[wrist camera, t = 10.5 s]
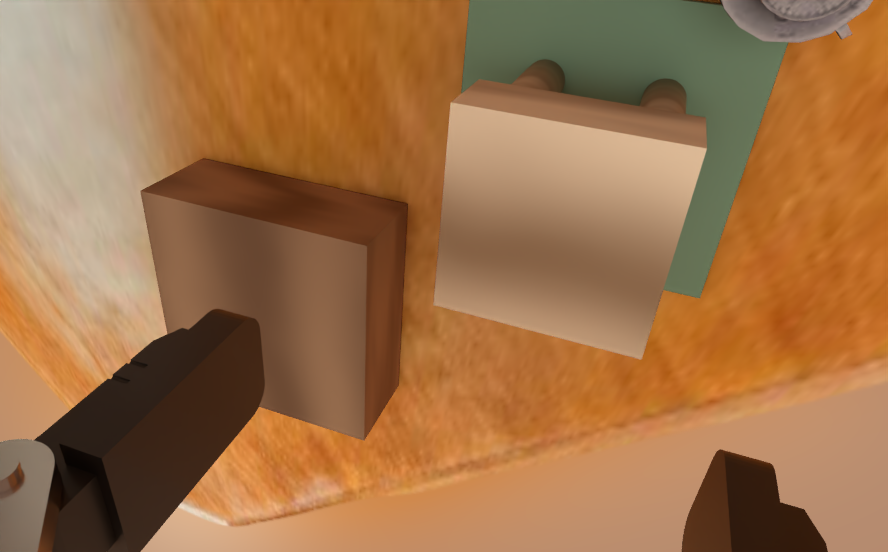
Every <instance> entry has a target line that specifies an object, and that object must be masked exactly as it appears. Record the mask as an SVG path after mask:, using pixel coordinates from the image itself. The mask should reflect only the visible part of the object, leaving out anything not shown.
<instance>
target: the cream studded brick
mask: <svg viewBox="0 0 888 552" xmlns="http://www.w3.org/2000/svg"><path fill="white" fill-rule="evenodd" d="M564 85H565V75H564V72H563V70H562V68H561V67H560V66H559V65H558V64H557V63H556V62H554V61H552V60H548V59H542V60H538V61H536V62H534V63H533V64H532V65H531V66H530V67H529V68H528V69H527V70H525V71H524V72H523V73H522V74H521V75H520V76H519V77H518V78H517V79H516V80H515V81H514V82H513V83H512V84H505V83H499V82H493V81H487V80H481V79H479V80H478V81H477V82H475V83H474V84H473V85H472V86H470V87H469V88H468V89H467V90H465V91H464V92H463V93H462V94H460V95H459V96H458V97H457V98H455V99H454V100H453V101H452V102H451V104H450V116H449V128H448V139H447V151H446V163H445V175H444V187H443V198H442V210H441V222H440V234H439V246H438V257H437V269H436V281H435V293H434V305H435V306H439V307H443V308H447V309H451V310H454V311H458V312H462V313H466V314H470V315H473V316H477V317H481V318H485V319H489V320H492V321H496V322H500V323H504V324H508V325H512V326H515V327H519V328H523V329H527V330H531V331H534V332H538V333H542V334H546V335H550V336H553V337H557V338H561V339H565V340H569V341H572V342H576V343H580V344H584V345H588V346H592V347H595V348H599V349H603V350H607V351H611V352H614V353H618V354H622V355H626V356H630V357H633V358H637V359H641V360H642V356H643V353H644V350H645V347H646V344H647V340H648V337H649V334H650V331H651V327H652V324H653V321H654V318H655V315H656V311H657V308H658V305H659V302H660V298H661V295H662V292H663V289H664V286H665V282H666V279H667V276H668V273H669V269H670V266H671V263H672V260H673V257H674V253H675V250H676V247H677V244H678V240H679V237H680V234H681V231H682V228H683V224H684V221H685V218H686V215H687V211H688V208H689V205H690V202H691V199H692V195H693V192H694V189H695V186H696V182H697V179H698V176H699V173H700V170H701V166H702V163H703V160H704V157H705V153H706V150H707V134H706V117H700V116H694V115H688V114H686V101H687V96H686V92H685V89H684V87H683V86H682V85H681V84H680V83H679V82H677V81H675V80H673V79H668V78H664V79H659V80H656V81H654V82H652V83H651V84H650V85H649V86H648V87H647V88H646V89H645V91H644V93H643V96H642V99H641V103H640V106H635V105H629V104H623V103H617V102H611V101H605V100H599V99H593V98H588V97H582V96H576V95H570V94H564V93H561V92H562V90H563V88H564Z"/></svg>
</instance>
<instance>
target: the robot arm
mask: <svg viewBox="0 0 888 552" xmlns="http://www.w3.org/2000/svg"><path fill="white" fill-rule="evenodd" d="M264 388H265V378H264V366H263V355H262V344H261V332H260V326H259V323H258V321H257V320H256V319H254V318H251V317H247V316H243V315H240V314H236V313H233V312H229V311H225V310H222V309H213V310H211V311H210V312H208V313H207V314H206V315H205V316H204V317H203V318H201V319H200V320H199V321H198V322H197V323H196V324H195V325H193V326H192V327H191V328H190V329H189V330H188V329H185V328H180V329H178V330H176V331H174V332H172V333H169V334H167V335H165V336H163V337H161V338H159V339H156V340H154V341H152V342H151V343H150V344H149V345H148V346H146V347H145V348H144V349H143V350H142V351H141V352H139V353H138V354H137V355H136V356H135V357H133V358H132V359H131V362H130V364H128V363H126V364H125V365H124V366H123V367H121V368H120V369H119V370H118V371H117V372H115V373H114V374H113V377H112V379H107V380H106V381H105V382H103V383H102V384H101V385H100V386H99V387H97V388H96V389H95V390H94V391H93V392H91V393H90V394H89V395H88V396H87V397H86V398H84V399H83V400H82V401H81V402H80V403H78V404H77V405H76V406H75V407H74V408H72V409H71V410H70V411H69V412H68V413H66V414H65V415H64V416H63V417H62V418H60V419H59V420H58V421H57V422H56V423H54V424H53V425H52V426H51V427H50V428H48V429H47V430H46V431H45V432H44V433H43V434H41V435H40V436H39V437H37V438H36V439H35V440H28V439H16V440H8V441H3V442H0V552H140V551H141V550H142V549H143V548H144V547H145V545H146V544H147V543H148V542H149V541H150V539H151V538H152V537H153V536H154V535H155V533H156V532H157V531H158V530H159V529H160V527H161V526H162V525H163V524H164V523H165V521H166V520H167V519H168V518H169V517H170V515H171V514H172V513H173V512H174V511H175V509H176V508H177V507H178V506H179V505H180V503H181V502H182V501H183V500H184V498H185V497H186V496H187V495H188V494H189V492H190V491H191V490H192V489H193V488H194V486H195V485H196V484H197V483H198V482H199V480H200V479H201V478H202V477H203V476H204V474H205V473H206V472H207V471H208V470H209V468H210V467H211V466H212V465H213V464H214V462H215V461H216V460H217V459H218V458H219V456H220V455H221V454H222V453H223V452H224V450H225V449H226V448H227V447H228V445H229V444H230V443H231V442H232V441H233V439H234V438H235V437H236V436H237V435H238V433H239V432H240V431H241V430H242V429H243V427H244V426H245V425H246V424H247V423H248V421H249V420H250V419H251V418H252V417H253V415H254V414H255V412H256V411H257V409H258V407H259V405H260V403H261V400H262V397H263V393H264ZM682 552H828V551H827V546H826V543H825V541H824V540H823V538H822V537H821V535H820V533H819V532H818V530H817V529H816V527H815V526H814V524H813V523H812V521H811V520H810V518H809V516H808V515H807V513H806V512H805V510H804V509H801V508H798V507H794V506H791V505H787V504H784V503H780V499H779V493H778V486H777V480H776V474H775V470H774V467H773V465H772V464H770V463H767V462H764V461H760V460H757V459H753V458H749V457H746V456H742V455H739V454H735V453H731V452H727V451H724V450H718V451H717V452H716V454H715V456H714V458H713V460H712V462H711V464H710V467H709V469H708V471H707V473H706V476H705V478H704V480H703V482H702V485H701V487H700V489H699V491H698V494H697V496H696V498H695V501H694V503H693V505H692V507H691V509H690V512H689V515H688V517H687V521H686V525H685V529H684V535H683V542H682Z"/></svg>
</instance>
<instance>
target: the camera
mask: <svg viewBox="0 0 888 552" xmlns="http://www.w3.org/2000/svg"><path fill="white" fill-rule="evenodd" d="M872 1H873V0H720V2H721V4H722V6H723V7H724V9H725V11H726V12H727V14H728V16H729V17H730V18H731V19H732V20H733V21H734V22H735V23H736V24H737V25H738V27H740V28H741V29H743V30H745V31H747V32H748V33H750V34H752V35H753V36H755V37H757V38H759V39H760V40H762V41H768V42H804V41H807V40H811V39H815V38H818V37H822V36H825V35H829V34H831V33H832V32H834V31H836V32H837V34H838V36H839V37H840V39H844V38H846V37H848V36H850V35H852V33H851V30H850V28H849V27H848V25H847V22H849V21H850V20H852V19H853V18H855V17H856V16H857V15H859V14H860V13H862V12H863V11H865V10H866V9H867V8H868V7H869V5H870V4H871V2H872Z"/></svg>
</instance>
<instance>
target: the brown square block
mask: <svg viewBox="0 0 888 552" xmlns="http://www.w3.org/2000/svg"><path fill="white" fill-rule="evenodd" d="M141 197H142V202H143V207H144V212H145V218H146V223H147V228H148V234H149V239H150V244H151V249H152V255H153V260H154V265H155V270H156V276H157V281H158V286H159V292H160V297H161V302H162V307H163V313H164V318H165V323H166V328H167V334H169V333H172V332H174V331H176V330H178V329H180V328H185V329H188V330H189V329H190V328H191V327H192V326H193V325H195V324H196V323H197V322H198V321H199V320H200V319H201V318H203V317H204V316H205V315H206V314H207V313H208V312H210V311H211V310H213V309H222V310H225V311H229V312H233V313H236V314H240V315H243V316H247V317H251V318H254V319H256V320H257V321H258V323H259V326H260V332H261V344H262V355H263V366H264V378H265V388H264V393H263V397H262V400H261V403H260V405H259V407H262V408H265V409H268V410H271V411H274V412H277V413H280V414H284V415H287V416H290V417H293V418H296V419H299V420H302V421H305V422H308V423H311V424H314V425H318V426H321V427H324V428H327V429H330V430H333V431H336V432H339V433H342V434H345V435H348V436H352V437H355V438H358V439H361V440H365V438H366V437H367V435H368V434H369V432H370V430H371V429H372V427H373V426H374V424H375V422H376V421H377V419H378V417H379V416H380V414H381V413H382V411H383V409H384V408H385V406H386V405H387V403H388V401H389V400H390V398H391V397H392V395H393V393H394V392H395V390H396V389H397V387H398V383H399V364H400V344H401V325H402V305H403V285H404V266H405V246H406V227H407V207H408V204H406V203H401V202H397V201H392V200H388V199H383V198H379V197H374V196H370V195H365V194H361V193H356V192H352V191H347V190H343V189H338V188H334V187H329V186H325V185H320V184H316V183H311V182H307V181H302V180H298V179H293V178H289V177H284V176H280V175H275V174H271V173H266V172H262V171H257V170H253V169H248V168H244V167H239V166H235V165H230V164H226V163H221V162H217V161H212V160H208V159H201V160H199V161H197V162H196V163H194V164H192V165H190V166H188V167H186V168H184V169H182V170H180V171H178V172H176V173H174V174H172V175H170V176H168V177H167V178H165V179H163V180H161V181H159V182H157V183H155V184H153V185H151V186H149V187H147V188H145V189H143V190H141Z"/></svg>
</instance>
